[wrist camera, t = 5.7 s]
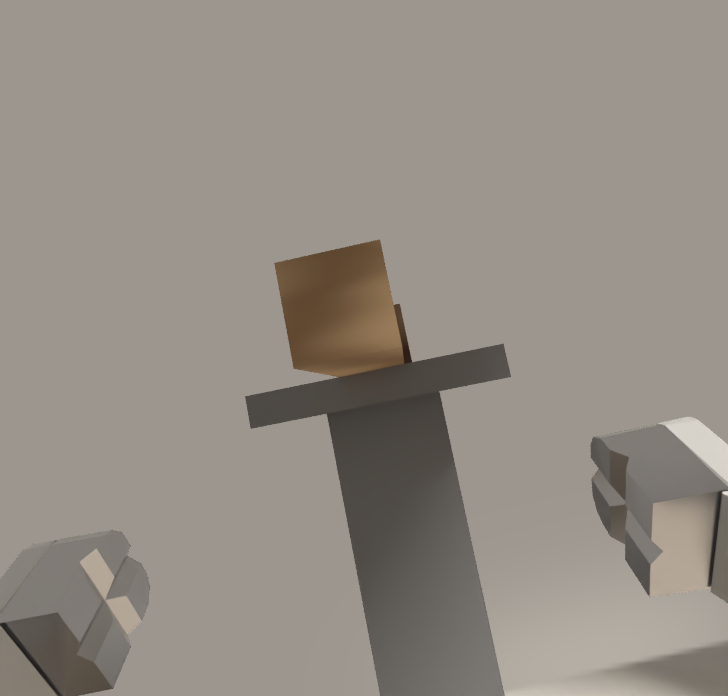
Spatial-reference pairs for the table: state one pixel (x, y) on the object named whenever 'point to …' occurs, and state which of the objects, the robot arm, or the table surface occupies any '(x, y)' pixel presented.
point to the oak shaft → (342, 312)
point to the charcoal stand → (406, 517)
